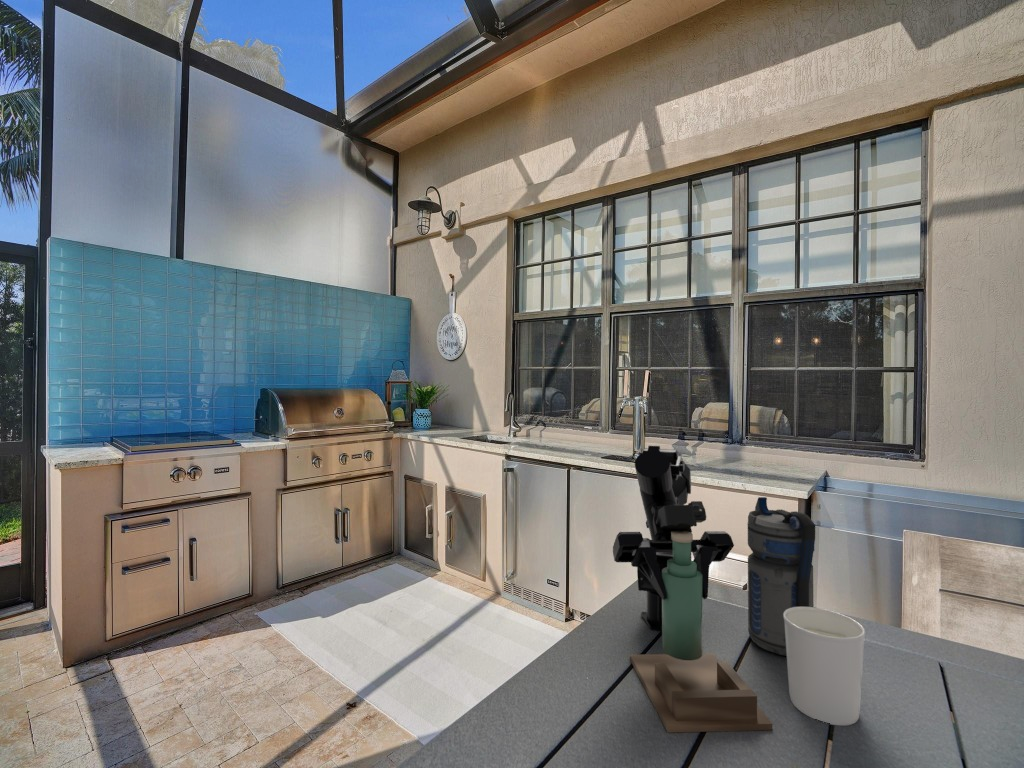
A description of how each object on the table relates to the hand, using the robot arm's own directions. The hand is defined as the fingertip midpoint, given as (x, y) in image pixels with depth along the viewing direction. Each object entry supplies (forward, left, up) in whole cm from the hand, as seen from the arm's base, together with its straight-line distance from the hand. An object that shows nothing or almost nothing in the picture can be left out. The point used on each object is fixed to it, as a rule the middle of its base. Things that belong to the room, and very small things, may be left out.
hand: (685, 598), depth 75 cm
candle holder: (+7, +17, -13) cm, 22 cm away
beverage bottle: (-9, +21, -13) cm, 27 cm away
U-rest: (+2, 0, -13) cm, 13 cm away
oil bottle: (-2, 0, -9) cm, 9 cm away
